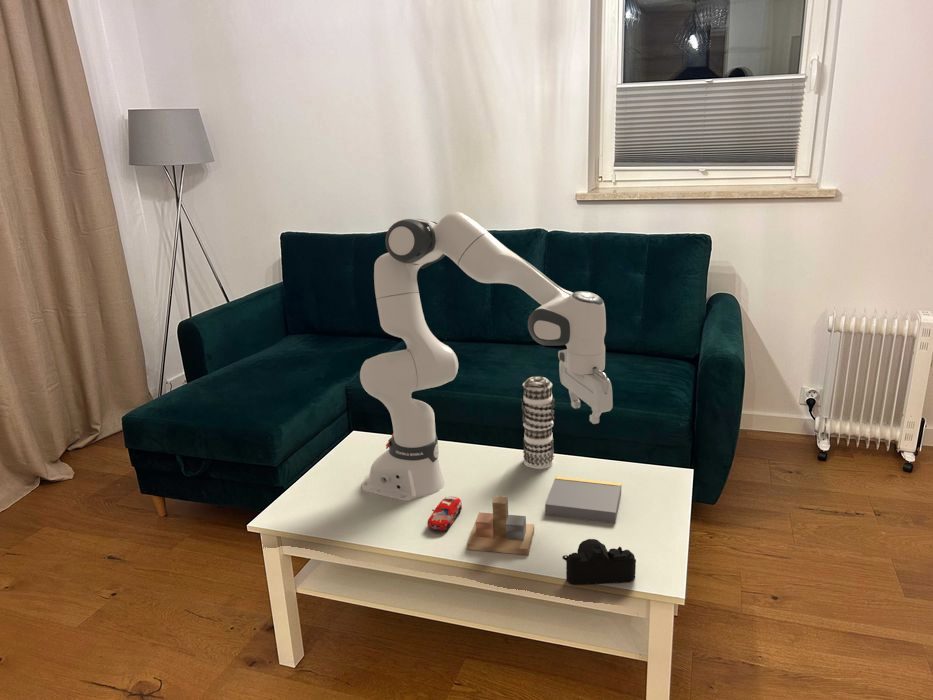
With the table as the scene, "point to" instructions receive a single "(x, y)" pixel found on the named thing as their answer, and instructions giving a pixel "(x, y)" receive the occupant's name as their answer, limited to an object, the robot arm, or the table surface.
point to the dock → (584, 499)
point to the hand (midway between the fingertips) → (584, 414)
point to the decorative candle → (538, 422)
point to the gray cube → (515, 527)
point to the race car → (445, 513)
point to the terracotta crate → (484, 525)
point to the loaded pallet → (501, 542)
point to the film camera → (599, 565)
